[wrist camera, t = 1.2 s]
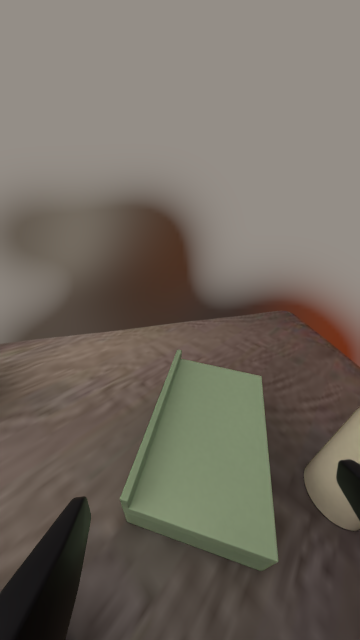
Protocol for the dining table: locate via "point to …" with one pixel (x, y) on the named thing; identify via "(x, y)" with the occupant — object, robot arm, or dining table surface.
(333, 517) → the canister
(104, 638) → the dining table surface
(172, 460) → the shelf
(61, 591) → the robot arm
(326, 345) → the dining table surface
